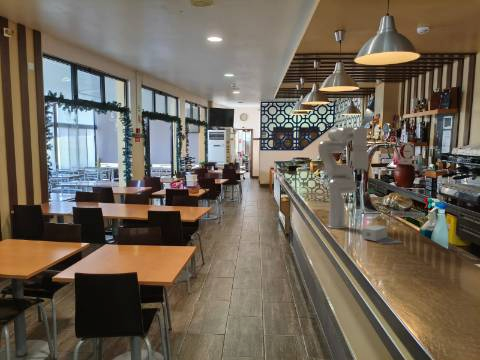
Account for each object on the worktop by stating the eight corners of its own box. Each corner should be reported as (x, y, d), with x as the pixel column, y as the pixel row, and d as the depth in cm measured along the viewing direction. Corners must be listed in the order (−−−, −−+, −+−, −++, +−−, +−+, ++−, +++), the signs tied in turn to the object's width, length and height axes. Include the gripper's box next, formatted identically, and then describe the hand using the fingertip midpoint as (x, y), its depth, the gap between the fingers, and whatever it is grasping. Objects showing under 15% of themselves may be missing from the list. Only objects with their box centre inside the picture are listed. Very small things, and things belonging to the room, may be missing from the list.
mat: (365, 237, 216) (365, 236, 216) (384, 236, 219) (384, 235, 219) (382, 244, 201) (382, 243, 201) (402, 243, 204) (402, 242, 204)
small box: (374, 241, 206) (387, 237, 214) (375, 230, 205) (387, 226, 213) (362, 238, 212) (374, 235, 220) (362, 227, 211) (375, 224, 219)
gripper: (367, 149, 217) (366, 180, 219) (344, 149, 214) (343, 180, 216) (375, 149, 210) (374, 181, 212) (351, 149, 207) (350, 182, 208)
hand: (358, 181), depth 214 cm, fingers closed
